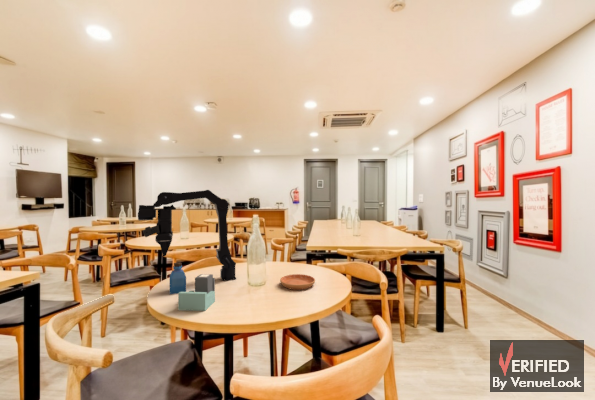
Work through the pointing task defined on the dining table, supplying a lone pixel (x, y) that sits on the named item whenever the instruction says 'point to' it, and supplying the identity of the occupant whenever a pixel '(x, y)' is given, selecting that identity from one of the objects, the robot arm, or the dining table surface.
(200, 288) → the grey block
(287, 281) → the saucer
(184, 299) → the socket
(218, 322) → the dining table surface
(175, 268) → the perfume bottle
